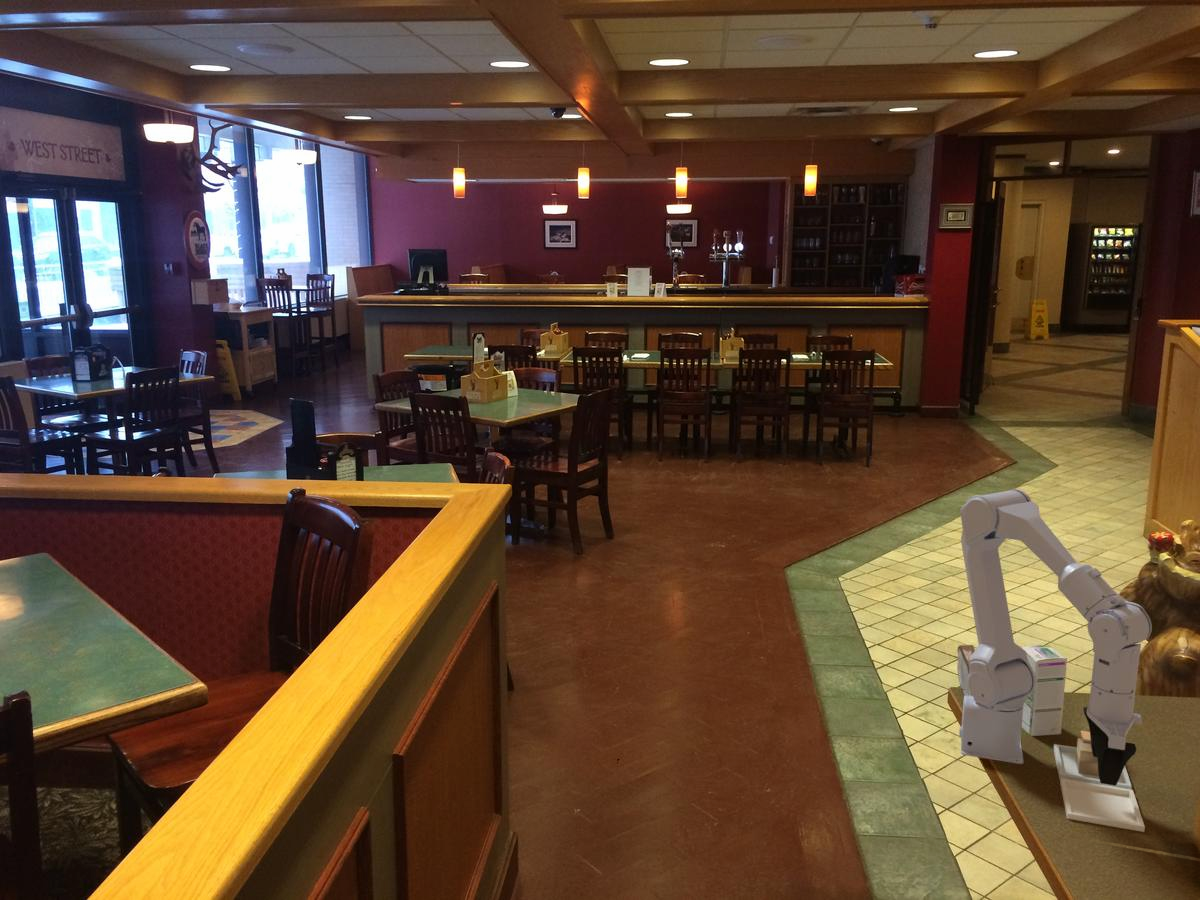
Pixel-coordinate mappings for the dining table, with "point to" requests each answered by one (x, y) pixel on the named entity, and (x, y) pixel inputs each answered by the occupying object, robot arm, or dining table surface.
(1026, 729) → the syrup box
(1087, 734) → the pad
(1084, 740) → the letter cube
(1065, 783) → the near tray
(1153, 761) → the dining table surface
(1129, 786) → the far tray
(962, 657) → the tin
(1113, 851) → the dining table surface
